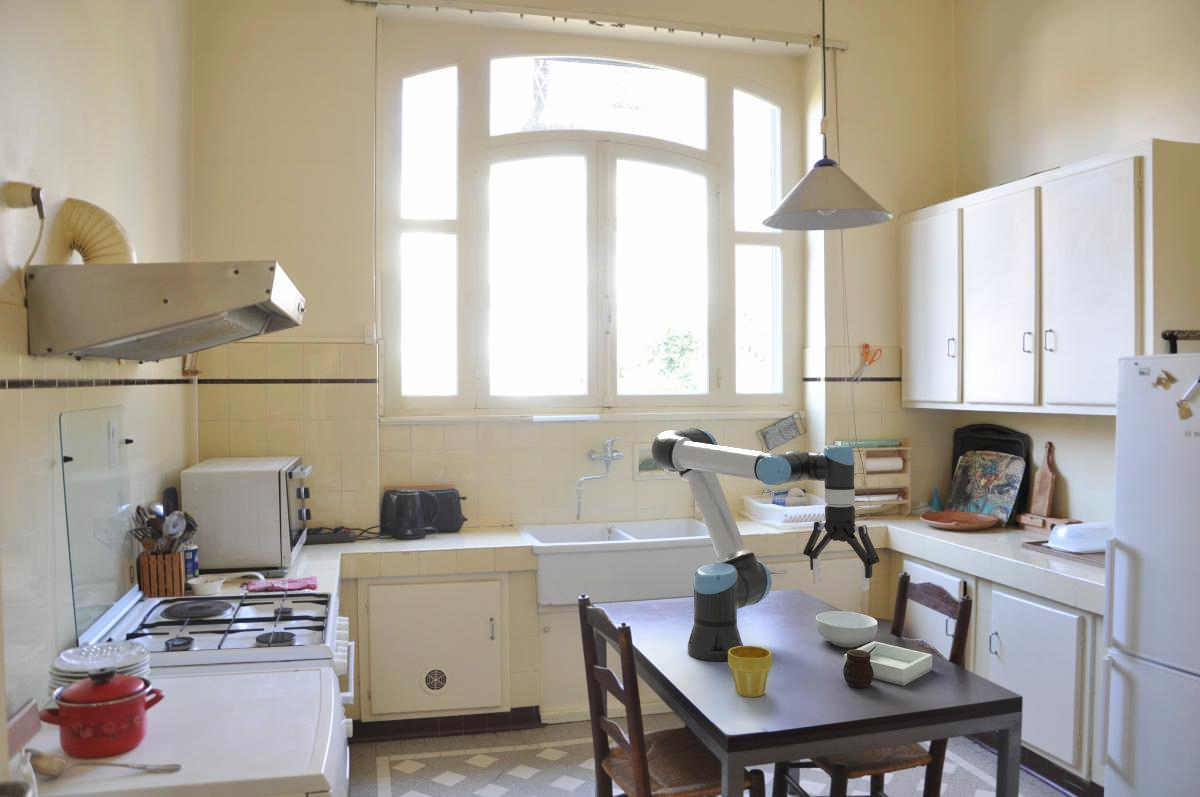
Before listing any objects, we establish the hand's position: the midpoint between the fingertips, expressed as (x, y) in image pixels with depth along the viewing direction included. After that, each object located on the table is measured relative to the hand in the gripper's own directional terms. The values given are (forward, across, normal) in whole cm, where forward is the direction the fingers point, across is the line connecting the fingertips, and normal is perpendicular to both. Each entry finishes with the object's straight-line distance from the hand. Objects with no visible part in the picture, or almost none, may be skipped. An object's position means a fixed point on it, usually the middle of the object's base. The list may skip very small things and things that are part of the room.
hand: (840, 586), depth 222 cm
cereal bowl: (+21, +8, -19) cm, 30 cm away
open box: (+21, -10, -6) cm, 24 cm away
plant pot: (+21, +8, +32) cm, 39 cm away
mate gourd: (+21, -9, +9) cm, 25 cm away
